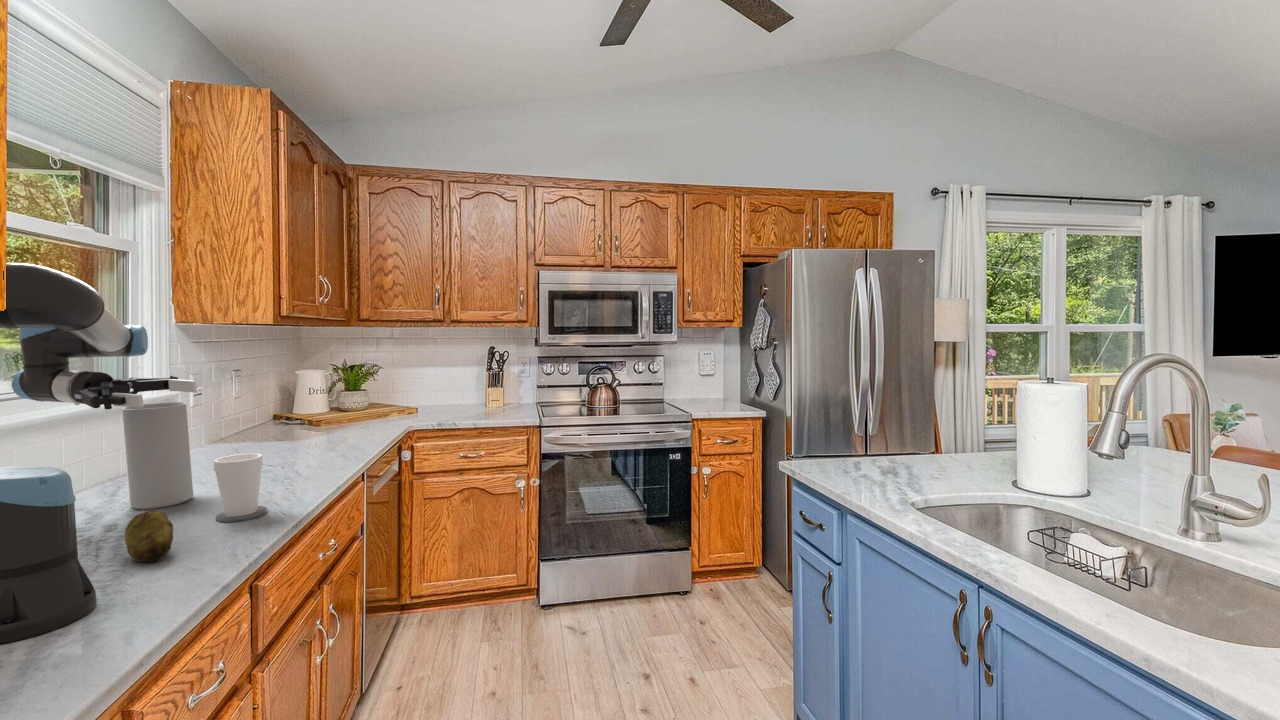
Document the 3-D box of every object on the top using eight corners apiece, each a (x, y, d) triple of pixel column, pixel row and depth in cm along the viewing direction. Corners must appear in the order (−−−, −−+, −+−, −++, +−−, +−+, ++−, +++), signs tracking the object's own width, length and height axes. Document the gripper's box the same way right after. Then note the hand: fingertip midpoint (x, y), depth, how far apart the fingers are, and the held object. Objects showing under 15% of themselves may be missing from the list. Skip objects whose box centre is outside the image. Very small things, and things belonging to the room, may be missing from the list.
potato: (112, 572, 108) (109, 529, 108) (132, 549, 119) (129, 510, 119) (169, 562, 112) (167, 521, 111) (183, 541, 123) (181, 503, 123)
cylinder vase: (127, 503, 151) (119, 406, 150) (188, 492, 160) (180, 400, 159) (134, 513, 143) (125, 411, 141) (198, 501, 152) (190, 404, 150)
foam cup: (269, 511, 140) (266, 457, 139) (222, 521, 133) (219, 464, 133) (258, 503, 147) (255, 451, 146) (212, 512, 140) (209, 458, 139)
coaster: (238, 523, 134) (238, 520, 134) (205, 520, 137) (204, 517, 137) (276, 510, 143) (276, 507, 143) (244, 507, 146) (244, 504, 146)
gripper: (138, 390, 149) (216, 395, 147) (27, 418, 125) (117, 425, 123) (135, 361, 148) (212, 366, 146) (21, 384, 123) (112, 390, 121)
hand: (169, 393), depth 134 cm, fingers open, 13 cm apart
